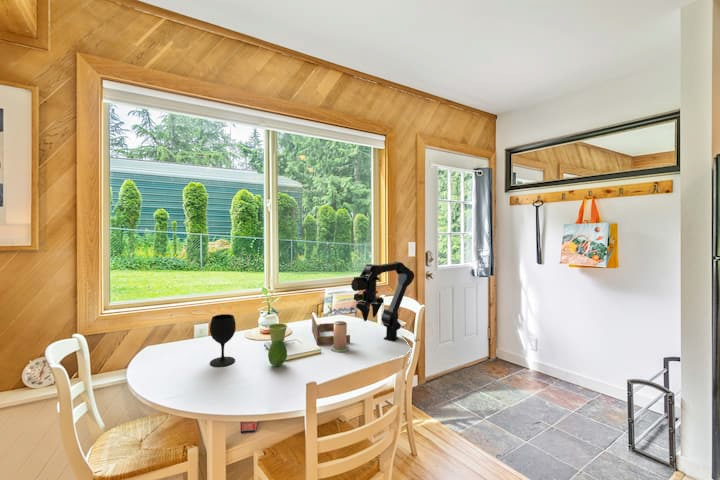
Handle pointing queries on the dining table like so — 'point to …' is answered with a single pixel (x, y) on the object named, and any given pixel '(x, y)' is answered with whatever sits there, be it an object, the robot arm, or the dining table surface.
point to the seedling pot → (340, 335)
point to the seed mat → (339, 350)
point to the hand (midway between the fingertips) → (369, 319)
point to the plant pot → (277, 331)
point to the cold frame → (323, 327)
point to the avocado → (277, 352)
